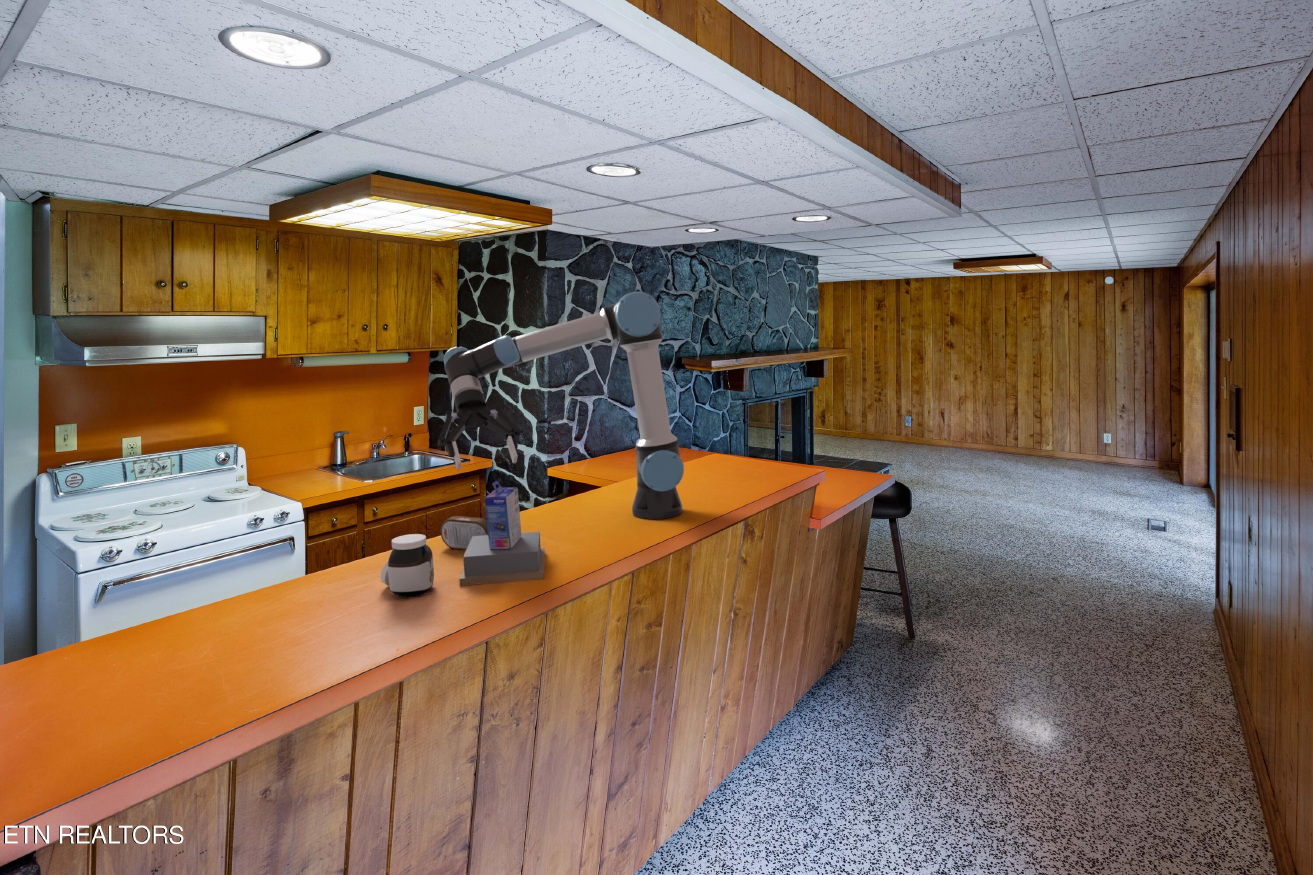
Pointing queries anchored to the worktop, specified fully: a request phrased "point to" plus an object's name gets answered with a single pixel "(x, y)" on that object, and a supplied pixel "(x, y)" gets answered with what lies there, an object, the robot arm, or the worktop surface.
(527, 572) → the block
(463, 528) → the tin
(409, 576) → the spread jar
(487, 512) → the ink cartridge box
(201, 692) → the worktop surface
